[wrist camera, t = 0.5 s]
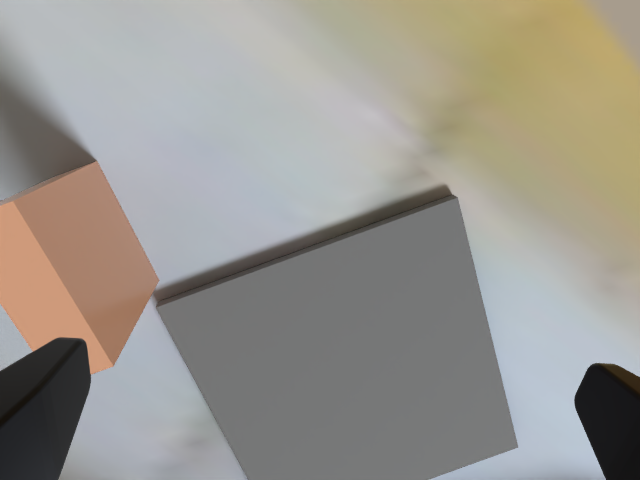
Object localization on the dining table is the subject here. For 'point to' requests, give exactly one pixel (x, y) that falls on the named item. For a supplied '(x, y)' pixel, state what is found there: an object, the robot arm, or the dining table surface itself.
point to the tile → (73, 265)
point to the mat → (352, 355)
